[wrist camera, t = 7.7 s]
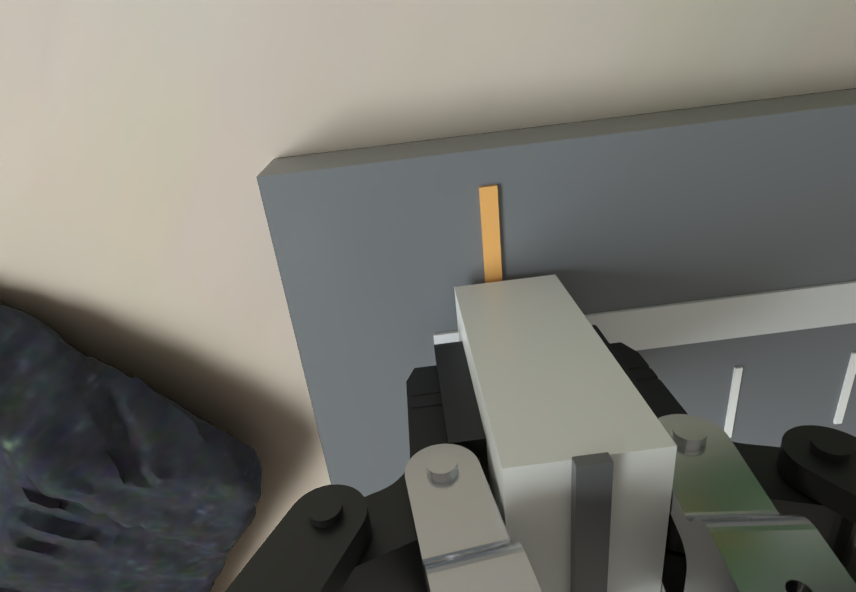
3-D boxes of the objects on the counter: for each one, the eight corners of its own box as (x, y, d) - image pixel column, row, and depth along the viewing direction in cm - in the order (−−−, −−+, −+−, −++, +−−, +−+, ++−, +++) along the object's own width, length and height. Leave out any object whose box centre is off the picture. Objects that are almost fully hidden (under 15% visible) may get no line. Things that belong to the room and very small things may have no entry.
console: (1057, 64, 14) (1163, 68, 12) (940, 388, 18) (1005, 429, 16) (274, 158, 14) (255, 178, 12) (343, 464, 18) (337, 516, 16)
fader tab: (554, 272, 13) (684, 452, 7) (556, 412, 15) (660, 646, 9) (454, 285, 13) (505, 476, 7) (467, 424, 15) (515, 666, 9)
